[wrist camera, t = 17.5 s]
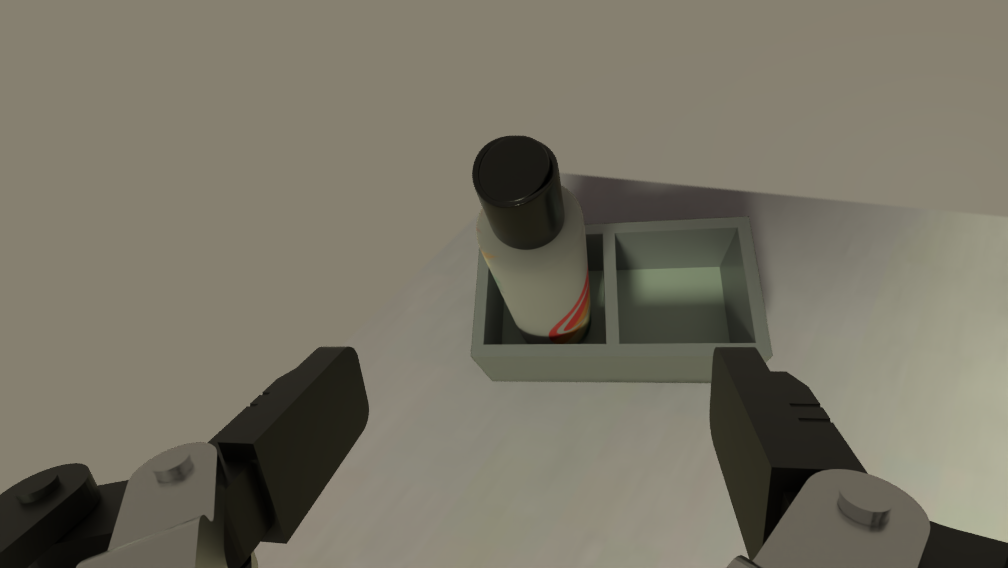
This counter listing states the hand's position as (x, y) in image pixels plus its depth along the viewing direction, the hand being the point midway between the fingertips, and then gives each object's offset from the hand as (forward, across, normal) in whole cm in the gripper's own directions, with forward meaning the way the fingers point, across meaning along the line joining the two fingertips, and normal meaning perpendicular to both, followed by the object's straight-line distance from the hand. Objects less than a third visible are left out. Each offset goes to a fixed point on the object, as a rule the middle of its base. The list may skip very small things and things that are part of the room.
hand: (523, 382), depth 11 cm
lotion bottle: (+26, +2, +11) cm, 29 cm away
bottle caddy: (+27, -2, +12) cm, 29 cm away
